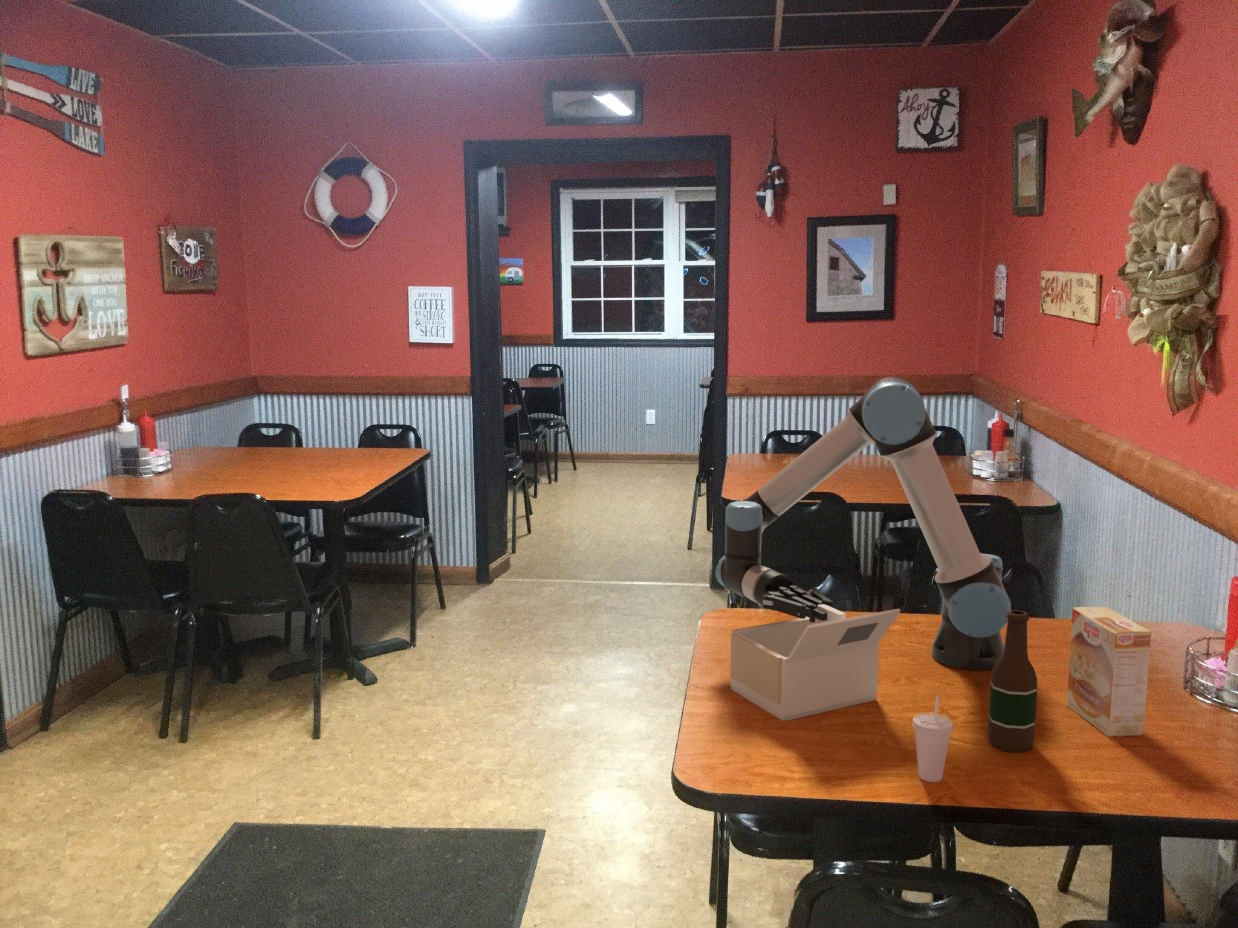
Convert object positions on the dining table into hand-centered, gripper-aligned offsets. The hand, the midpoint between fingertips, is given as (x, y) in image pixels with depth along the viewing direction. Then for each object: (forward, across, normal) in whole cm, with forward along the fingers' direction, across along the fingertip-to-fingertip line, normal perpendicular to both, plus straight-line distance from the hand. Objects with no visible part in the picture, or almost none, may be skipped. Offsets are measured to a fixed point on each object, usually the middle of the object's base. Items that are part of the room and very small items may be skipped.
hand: (842, 621), depth 196 cm
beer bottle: (+23, -20, -19) cm, 35 cm away
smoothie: (+26, +2, -19) cm, 32 cm away
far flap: (-1, -1, -3) cm, 3 cm away
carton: (-12, -1, -19) cm, 23 cm away
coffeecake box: (+23, -43, -18) cm, 52 cm away
